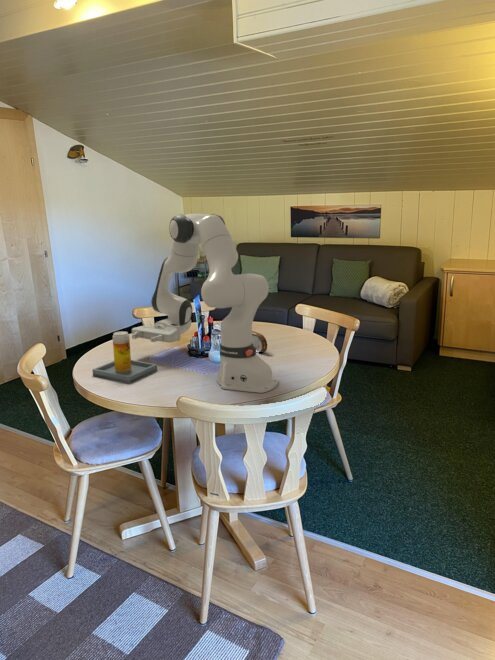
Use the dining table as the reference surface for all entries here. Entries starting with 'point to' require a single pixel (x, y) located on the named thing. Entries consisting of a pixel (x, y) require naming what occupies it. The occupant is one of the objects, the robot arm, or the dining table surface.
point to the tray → (134, 374)
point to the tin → (259, 341)
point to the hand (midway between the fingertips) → (142, 338)
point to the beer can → (122, 352)
